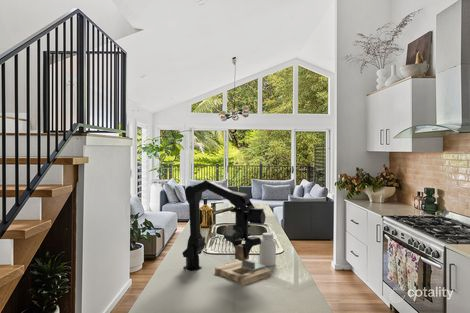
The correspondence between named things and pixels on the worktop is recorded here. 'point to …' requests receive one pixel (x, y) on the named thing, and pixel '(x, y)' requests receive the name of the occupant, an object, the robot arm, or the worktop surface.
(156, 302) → the worktop surface
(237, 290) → the worktop surface
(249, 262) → the cover
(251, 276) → the wooden board with hole
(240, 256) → the block
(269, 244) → the pill bottle
